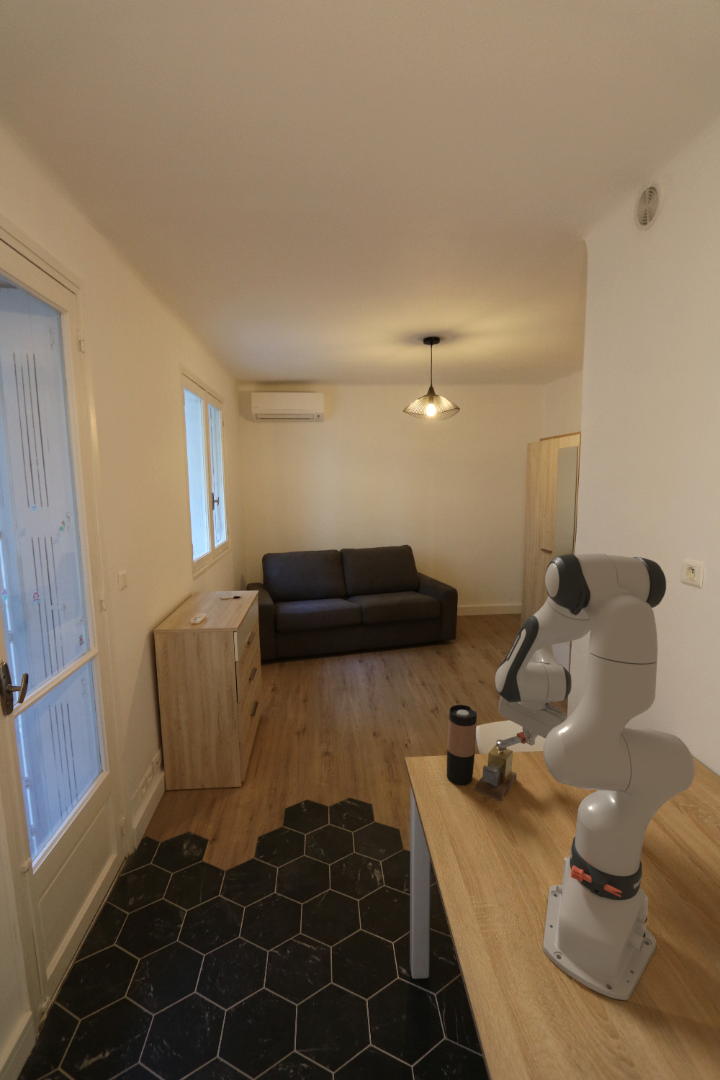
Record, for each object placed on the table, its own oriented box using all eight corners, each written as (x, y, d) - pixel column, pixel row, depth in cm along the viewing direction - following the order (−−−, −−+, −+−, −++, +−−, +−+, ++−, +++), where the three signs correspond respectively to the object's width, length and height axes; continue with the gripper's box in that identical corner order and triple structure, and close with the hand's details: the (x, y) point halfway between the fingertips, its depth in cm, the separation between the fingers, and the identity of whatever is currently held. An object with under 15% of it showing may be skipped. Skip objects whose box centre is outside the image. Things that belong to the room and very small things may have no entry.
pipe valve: (497, 792, 126) (499, 764, 125) (479, 785, 129) (481, 757, 128) (512, 772, 135) (514, 746, 134) (495, 765, 138) (497, 740, 137)
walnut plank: (500, 802, 125) (500, 795, 125) (475, 791, 130) (475, 784, 129) (516, 779, 135) (516, 773, 135) (492, 770, 139) (492, 763, 139)
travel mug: (444, 783, 133) (447, 715, 130) (447, 767, 140) (450, 702, 137) (472, 788, 131) (476, 720, 128) (474, 772, 138) (478, 707, 135)
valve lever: (500, 751, 130) (501, 745, 130) (493, 746, 133) (494, 740, 133) (533, 740, 136) (534, 734, 136) (526, 735, 139) (526, 730, 138)
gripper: (574, 709, 126) (570, 758, 127) (510, 681, 143) (508, 725, 144) (560, 715, 122) (556, 765, 124) (496, 685, 139) (494, 730, 141)
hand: (529, 743), depth 134 cm, fingers closed
